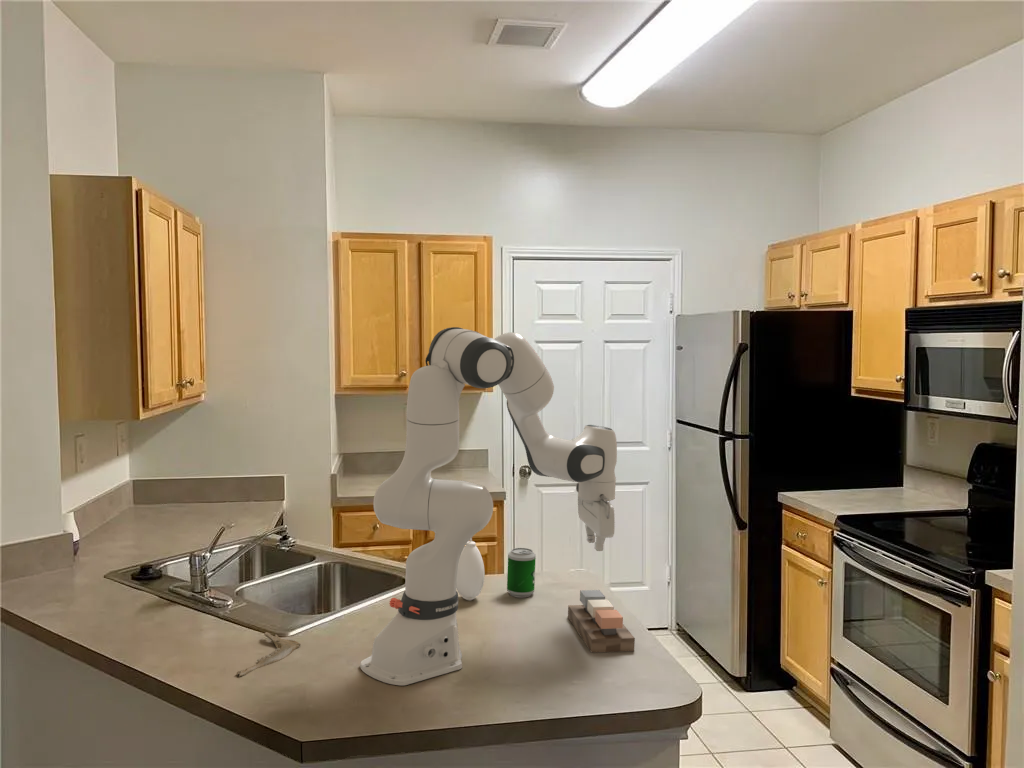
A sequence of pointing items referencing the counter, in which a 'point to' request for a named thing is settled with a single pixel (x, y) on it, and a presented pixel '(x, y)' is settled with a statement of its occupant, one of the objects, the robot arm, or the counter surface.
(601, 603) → the ivory key
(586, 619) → the keypad board
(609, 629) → the terracotta key
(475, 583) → the sauce bottle
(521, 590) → the soda can
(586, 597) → the slate key
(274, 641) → the jawbone
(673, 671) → the counter surface
